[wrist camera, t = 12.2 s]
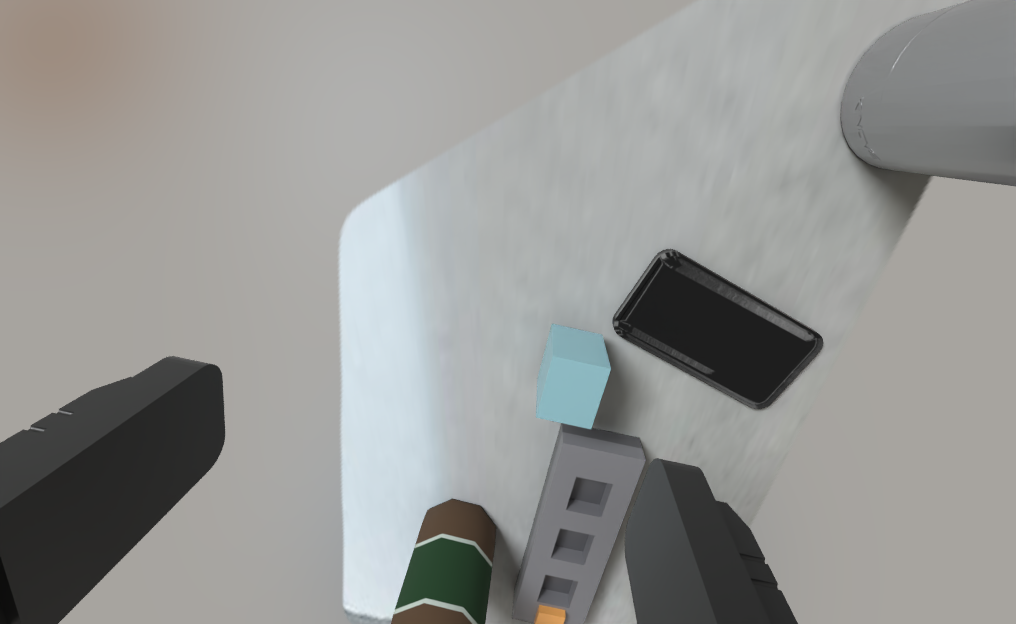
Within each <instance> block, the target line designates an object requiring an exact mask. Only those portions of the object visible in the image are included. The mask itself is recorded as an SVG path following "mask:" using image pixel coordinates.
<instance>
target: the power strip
mask: <svg viewBox="0 0 1016 624" xmlns="http://www.w3.org/2000/svg"><path fill="white" fill-rule="evenodd" d="M645 461H646V459H645V456H644V452H643V449H642V446H641V442H640V439H639V438H637V437H632V436H628V435H623V434H618V433H613V432H608V431H604V430H599V429H594V428H591V429H587V428H582V427H578V426H573V425H568V424H564V423H561V427H560V430H559V434H558V437H557V441H556V444H555V448H554V451H553V455H552V458H551V462H550V465H549V469H548V472H547V476H546V480H545V483H544V487H543V490H542V494H541V497H540V501H539V504H538V508H537V511H536V515H535V518H534V522H533V526H532V529H531V533H530V536H529V540H528V543H527V547H526V550H525V554H524V557H523V561H522V564H521V568H520V571H519V575H518V579H517V582H516V586H515V589H514V598H513V612H512V619H517V620H522V621H526V622H531V623H534V624H584V622H585V619H586V616H587V614H588V611H589V608H590V606H591V603H592V601H593V598H594V595H595V593H596V590H597V587H598V585H599V582H600V580H601V577H602V574H603V572H604V569H605V566H606V564H607V561H608V559H609V556H610V553H611V551H612V548H613V545H614V543H615V540H616V537H617V535H618V532H619V530H620V527H621V524H622V522H623V519H624V516H625V514H626V511H627V509H628V506H629V503H630V501H631V498H632V495H633V493H634V490H635V488H636V485H637V482H638V480H639V477H640V474H641V472H642V469H643V466H644V464H645Z"/></svg>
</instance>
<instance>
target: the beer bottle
mask: <svg viewBox="0 0 1016 624" xmlns="http://www.w3.org/2000/svg"><path fill="white" fill-rule="evenodd" d="M495 538H496V527H495V525H494V523H493V522H492V521H491V519H490V518H489V517H488V515H487V514H486V513H485V512H484V510H483V509H482V508H481V506H480V505H476V504H472V503H468V502H464V501H460V500H456V499H451V500H449V501H446V502H444V503H442V504H439V505H437V506H435V507H432V508H430V509H429V510H427V513H426V515H425V518H424V520H423V523H422V526H421V529H420V532H419V535H418V538H417V541H416V545H415V548H414V551H413V554H412V557H411V560H410V564H409V567H408V570H407V573H406V576H405V579H404V583H403V586H402V589H401V592H400V595H399V598H398V602H397V605H396V608H395V611H394V614H393V618H392V622H391V624H485V620H486V612H487V604H488V596H489V588H490V580H491V572H492V565H493V557H494V549H495Z"/></svg>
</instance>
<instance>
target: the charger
mask: <svg viewBox="0 0 1016 624" xmlns="http://www.w3.org/2000/svg"><path fill="white" fill-rule="evenodd" d="M610 371H611V367H610V363H609V359H608V355H607V351H606V347H605V344H604V340H603V336H602V335H601V334H596V333H592V332H587V331H583V330H578V329H574V328H569V327H565V326H560V325H556V324H552V325H551V329H550V333H549V337H548V341H547V344H546V348H545V352H544V356H543V360H542V363H541V367H540V371H539V375H538V380H537V404H536V417H537V418H541V419H546V420H550V421H555V422H559V423H564V424H568V425H573V426H578V427H582V428H587V429H591V428H592V425H593V422H594V419H595V416H596V413H597V410H598V407H599V404H600V401H601V398H602V395H603V392H604V389H605V386H606V383H607V380H608V377H609V374H610Z"/></svg>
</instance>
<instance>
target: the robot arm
mask: <svg viewBox="0 0 1016 624" xmlns="http://www.w3.org/2000/svg"><path fill="white" fill-rule="evenodd" d="M841 122H842V128H843V133H844V136H845V138H846V140H847V142H848V145H849V146H850V148H851V149H852V150H853V151H854V152H855V154H856V155H857V156H858V157H860V158H861V159H862V160H864V161H865V162H867V163H868V164H870V165H873V166H876V167H879V168H881V169H889V170H896V171H904V172H911V173H919V174H926V175H931V176H939V177H947V178H955V179H963V180H971V181H979V182H986V183H995V184H1002V185H1010V186H1016V0H970V1H967V2H964V3H961V4H957V5H954V6H951V7H947V8H944V9H941V10H938V11H934V12H931V13H928V14H925V15H922V16H918V17H915V18H912V19H909V20H908V21H906V22H904V23H902V24H900V25H898V26H896V27H894V28H893V29H891V30H890V31H889V32H887V33H886V34H885V35H883V36H882V37H881V38H880V39H878V40H877V41H876V42H875V43H874V44H873V45H872V46H871V48H870V49H869V50H868V51H867V52H866V53H865V54H864V55H863V57H862V58H861V60H860V61H859V63H858V64H857V65H856V67H855V68H854V70H853V72H852V74H851V76H850V79H849V81H848V83H847V85H846V88H845V92H844V96H843V100H842V107H841ZM224 440H225V421H224V401H223V381H222V373H221V371H220V369H219V367H218V366H216V365H213V364H208V363H203V362H199V361H194V360H189V359H184V358H180V357H175V356H172V357H166V358H164V359H162V360H160V361H159V362H157V363H155V364H154V365H152V366H150V367H149V368H147V369H145V370H144V371H142V372H140V373H139V374H137V375H135V376H134V377H129V378H126V379H123V380H120V381H117V382H114V383H111V384H108V385H105V386H102V387H99V388H97V389H94V390H91V391H89V392H88V393H86V394H84V395H83V396H81V397H79V398H77V399H76V400H74V401H72V402H70V403H69V404H67V405H65V406H64V407H62V408H60V409H59V412H58V413H57V414H56V413H51V414H50V415H48V416H46V417H44V418H43V419H41V420H39V421H38V422H36V423H34V424H32V425H31V427H30V429H29V430H28V431H27V430H22V431H20V432H18V433H17V434H15V435H13V436H11V437H10V438H8V439H6V440H5V441H3V442H1V443H0V624H58V623H59V622H60V621H61V620H62V619H63V618H64V617H65V616H66V615H67V614H68V613H69V612H70V611H71V610H72V609H73V608H74V607H75V606H76V605H77V604H78V603H79V602H80V601H81V600H82V599H83V598H84V597H85V596H86V595H87V594H88V593H89V592H90V591H91V590H92V589H93V588H94V587H95V585H97V583H99V582H100V580H102V579H103V578H104V576H105V575H106V574H107V573H108V572H109V571H110V570H111V569H112V568H113V567H114V566H115V565H116V564H117V563H118V562H119V561H120V560H121V559H122V558H123V557H124V556H125V555H126V554H127V553H128V552H129V551H130V550H131V549H132V548H133V547H134V546H135V545H136V544H137V543H138V542H139V541H140V540H141V539H142V538H143V537H144V536H145V535H146V534H147V533H148V532H149V531H150V530H151V529H152V528H153V527H154V526H155V525H156V524H157V523H158V522H159V521H160V520H161V519H162V518H163V517H164V516H165V515H166V514H167V512H168V511H170V510H171V509H172V508H173V506H175V504H176V503H177V502H178V501H179V500H180V499H181V498H182V497H183V496H184V495H185V494H186V493H187V492H188V491H189V490H190V489H191V488H192V487H193V486H194V485H195V484H196V483H197V482H198V481H199V480H200V479H201V478H202V477H203V476H204V475H205V474H206V473H207V472H208V471H209V470H210V469H211V468H212V466H213V465H214V463H215V462H216V461H217V459H218V457H219V455H220V453H221V451H222V447H223V445H224ZM625 558H626V564H627V569H628V575H629V580H630V586H631V591H632V597H633V602H634V608H635V613H636V619H637V624H798V623H797V621H796V619H795V617H794V615H793V613H792V611H791V609H790V607H789V605H788V604H787V601H786V599H785V597H784V595H783V593H782V591H780V590H778V588H777V581H776V579H775V577H774V576H773V573H772V571H771V569H770V568H769V566H768V564H765V562H764V561H765V557H764V555H763V554H762V552H761V549H760V548H759V546H758V544H757V542H756V540H755V538H754V536H753V534H752V532H751V530H750V528H749V527H748V526H747V525H746V524H745V523H744V522H743V521H742V520H741V518H740V517H739V516H738V515H737V514H736V513H735V512H734V511H733V510H732V508H731V507H730V506H729V505H728V504H727V503H724V502H719V501H715V498H714V496H713V494H712V492H711V489H710V487H709V485H708V483H707V480H706V478H705V476H704V474H703V472H702V470H701V469H700V468H698V467H695V466H691V465H686V464H681V463H676V462H672V461H667V460H662V459H654V460H653V461H652V462H651V464H650V466H649V468H648V471H647V473H646V476H645V478H644V481H643V484H642V486H641V489H640V491H639V494H638V497H637V499H636V502H635V504H634V507H633V510H632V512H631V515H630V517H629V520H628V524H627V528H626V534H625Z"/></svg>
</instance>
